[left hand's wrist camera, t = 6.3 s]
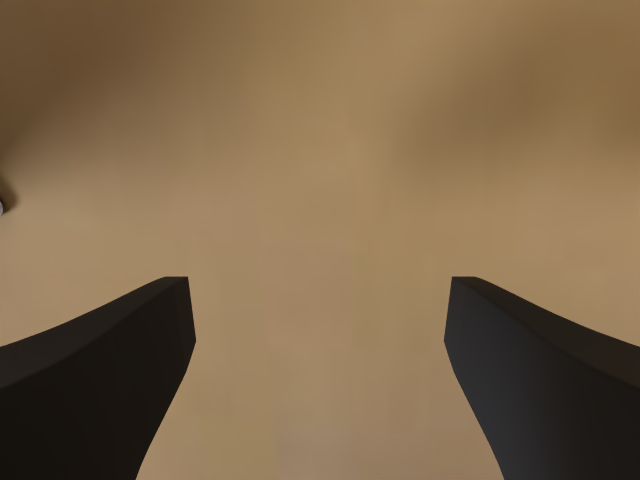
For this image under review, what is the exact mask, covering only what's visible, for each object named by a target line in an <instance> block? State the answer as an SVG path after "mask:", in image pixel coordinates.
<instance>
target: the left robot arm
mask: <svg viewBox="0 0 640 480" xmlns="http://www.w3.org/2000/svg"><path fill="white" fill-rule="evenodd" d="M2 212H3V206H2V204H1V202H0V215H2ZM195 343H196V336H195V328H194V320H193V313H192V305H191V297H190V289H189V281H188V277H163V278H160V279H157V280H155V281H153V282H150V283H148V284H146V285H144V286H142V287H140V288H138V289H136V290H134V291H132V292H130V293H128V294H125V295H123V296H121V297H119V298H117V299H115V300H113V301H111V302H109V303H107V304H105V305H103V306H101V307H99V308H97V309H94V310H92V311H90V312H88V313H86V314H83V315H81V316H79V317H77V318H75V319H73V320H70V321H68V322H66V323H64V324H61V325H59V326H56V327H54V328H51V329H49V330H46V331H44V332H41V333H38V334H36V335H33V336H30V337H28V338H25V339H22V340H19V341H17V342H14V343H11V344H8V345H5V346H1V347H0V480H136V477H137V474H138V472H139V469H140V466H141V464H142V462H143V459H144V457H145V455H146V453H147V451H148V448H149V446H150V444H151V442H152V440H153V438H154V436H155V434H156V432H157V430H158V428H159V426H160V424H161V422H162V420H163V418H164V416H165V414H166V412H167V410H168V408H169V406H170V404H171V402H172V400H173V398H174V396H175V394H176V392H177V390H178V388H179V386H180V384H181V382H182V380H183V377H184V375H185V373H186V371H187V368H188V365H189V362H190V359H191V356H192V353H193V349H194V346H195ZM444 343H445V346H446V349H447V353H448V356H449V359H450V362H451V365H452V368H453V371H454V373H455V375H456V377H457V380H458V382H459V384H460V386H461V388H462V390H463V392H464V394H465V396H466V398H467V400H468V402H469V404H470V406H471V408H472V410H473V412H474V414H475V416H476V418H477V420H478V422H479V424H480V426H481V428H482V430H483V432H484V434H485V436H486V438H487V440H488V442H489V444H490V446H491V448H492V451H493V453H494V455H495V457H496V459H497V462H498V464H499V466H500V469H501V472H502V474H503V477H504V480H640V347H639V346H636V345H633V344H630V343H627V342H624V341H621V340H618V339H616V338H613V337H610V336H607V335H605V334H602V333H599V332H597V331H594V330H592V329H589V328H586V327H584V326H582V325H579V324H577V323H575V322H572V321H570V320H568V319H565V318H563V317H561V316H559V315H556V314H554V313H552V312H550V311H548V310H546V309H543V308H541V307H539V306H537V305H535V304H533V303H531V302H529V301H527V300H525V299H523V298H521V297H519V296H517V295H515V294H513V293H511V292H509V291H507V290H505V289H503V288H501V287H499V286H496V285H494V284H492V283H490V282H488V281H485V280H483V279H480V278H477V277H452V281H451V289H450V297H449V305H448V313H447V320H446V328H445V336H444Z"/></svg>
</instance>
